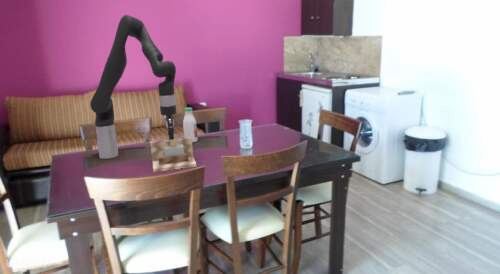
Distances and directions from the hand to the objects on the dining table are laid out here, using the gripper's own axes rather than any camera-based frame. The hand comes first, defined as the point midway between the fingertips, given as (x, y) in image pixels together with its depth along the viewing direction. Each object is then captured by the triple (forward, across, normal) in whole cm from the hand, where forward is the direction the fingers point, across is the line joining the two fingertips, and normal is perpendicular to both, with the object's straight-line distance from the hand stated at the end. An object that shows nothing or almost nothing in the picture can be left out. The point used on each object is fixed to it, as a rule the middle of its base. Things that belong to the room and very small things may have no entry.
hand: (171, 137), depth 187 cm
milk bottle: (+13, -37, +13) cm, 41 cm away
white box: (+12, 0, +1) cm, 12 cm away
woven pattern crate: (+13, +3, 0) cm, 13 cm away
